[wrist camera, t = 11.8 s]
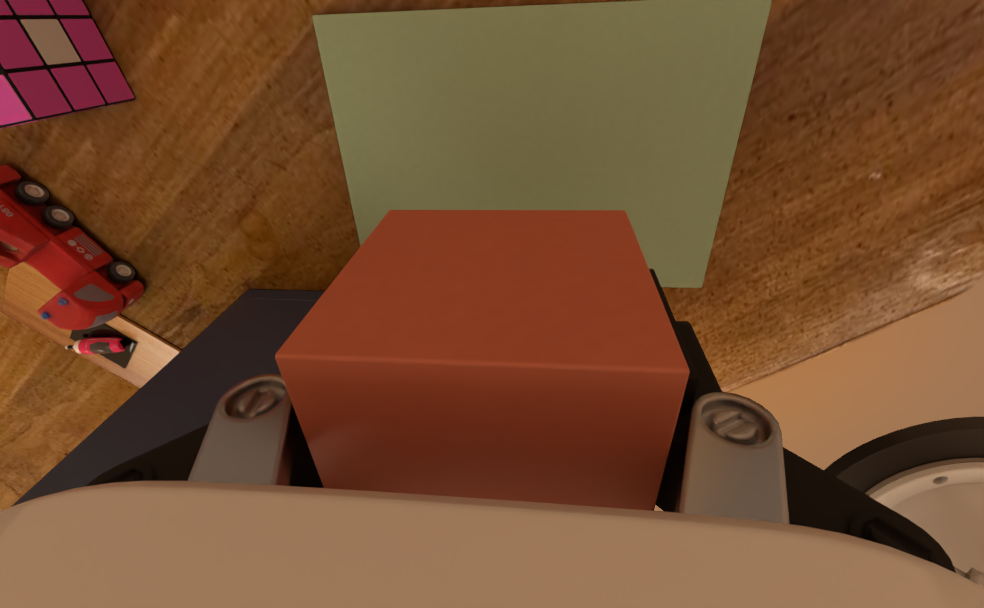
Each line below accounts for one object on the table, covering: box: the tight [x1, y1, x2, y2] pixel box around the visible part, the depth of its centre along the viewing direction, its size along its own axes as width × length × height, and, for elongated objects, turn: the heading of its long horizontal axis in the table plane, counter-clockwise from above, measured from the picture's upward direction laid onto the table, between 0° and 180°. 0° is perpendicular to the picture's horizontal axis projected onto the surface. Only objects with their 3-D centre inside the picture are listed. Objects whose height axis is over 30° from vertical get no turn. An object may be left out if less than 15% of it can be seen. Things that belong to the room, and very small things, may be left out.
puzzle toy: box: [0, 0, 135, 129], centre depth 21 cm, size 6×6×6 cm
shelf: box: [11, 289, 325, 507], centre depth 24 cm, size 13×14×22 cm
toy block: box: [275, 210, 690, 511], centre depth 10 cm, size 6×6×6 cm
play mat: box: [312, 0, 772, 288], centre depth 24 cm, size 20×14×1 cm
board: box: [1, 261, 182, 388], centre depth 33 cm, size 6×12×2 cm, turn 50°
